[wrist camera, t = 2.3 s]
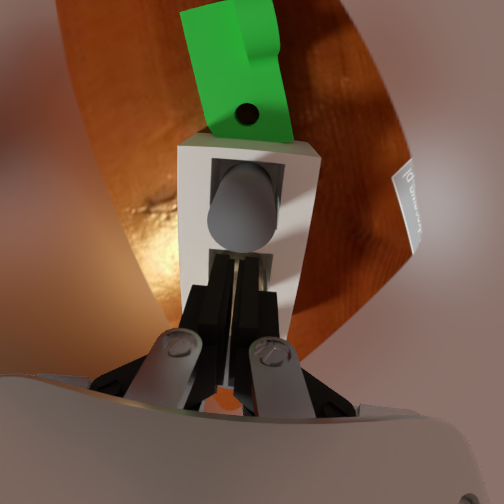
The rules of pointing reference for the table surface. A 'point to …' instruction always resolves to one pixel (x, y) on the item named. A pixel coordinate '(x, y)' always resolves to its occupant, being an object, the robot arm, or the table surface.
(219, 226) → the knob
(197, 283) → the white peg holder block
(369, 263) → the table surface
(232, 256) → the brass knob
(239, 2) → the mechanical part
